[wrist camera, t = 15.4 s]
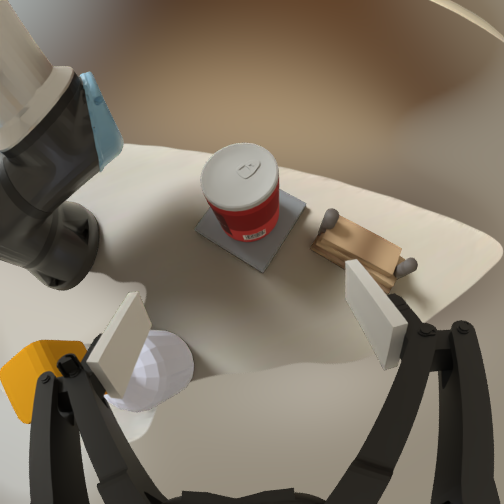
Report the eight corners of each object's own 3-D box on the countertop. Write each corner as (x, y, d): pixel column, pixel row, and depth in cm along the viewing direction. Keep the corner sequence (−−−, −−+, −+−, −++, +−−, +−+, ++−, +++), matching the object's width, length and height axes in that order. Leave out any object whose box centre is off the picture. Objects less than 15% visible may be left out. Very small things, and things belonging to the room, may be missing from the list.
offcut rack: (308, 248, 36) (315, 229, 29) (326, 218, 37) (335, 194, 30) (386, 295, 33) (408, 287, 26) (400, 263, 34) (424, 249, 27)
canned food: (290, 206, 37) (293, 160, 26) (257, 255, 35) (248, 223, 25) (243, 181, 38) (231, 131, 28) (209, 226, 37) (184, 186, 26)
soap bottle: (123, 355, 34) (-24, 360, 11) (166, 316, 35) (19, 287, 12) (161, 405, 32) (30, 470, 8) (209, 369, 33) (89, 427, 9)
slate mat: (196, 231, 38) (194, 229, 37) (240, 172, 40) (239, 168, 39) (263, 273, 36) (262, 271, 35) (305, 206, 37) (306, 203, 37)
